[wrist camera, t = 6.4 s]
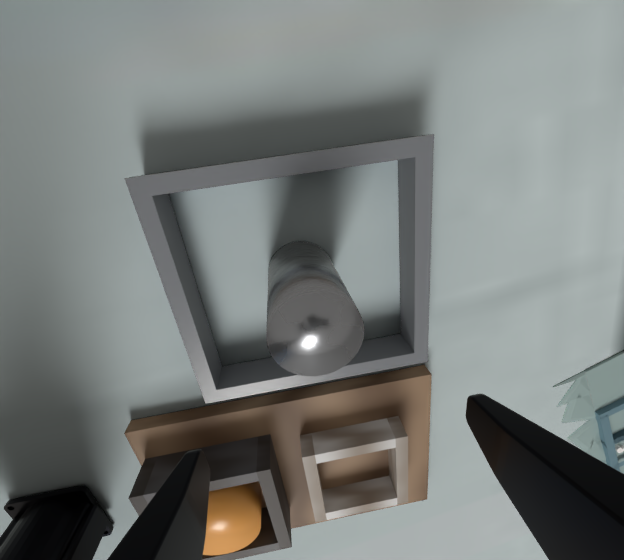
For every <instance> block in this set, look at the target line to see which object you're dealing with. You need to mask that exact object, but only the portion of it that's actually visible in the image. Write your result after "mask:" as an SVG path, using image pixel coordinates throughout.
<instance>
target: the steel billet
mask: <svg viewBox="0 0 624 560" xmlns="http://www.w3.org/2000/svg"><path fill="white" fill-rule="evenodd" d="M363 339H364V323H363V320H362V317H361V315H360V313H359V311H358V309H357V307H356V305H355V304H354V302H353V300H352V298H351V296H350V294H349V293H348V291H347V289H346V287H345V285H344V283H343V282H342V280H341V278H340V276H339V274H338V272H337V271H336V269H335V267H334V265H333V263H332V261H331V260H330V258H329V256H328V255H327V253H326V252H325V251H324V250H323V249H322V248H321V247H319V246H318V245H316V244H314V243H311V242H306V241H296V242H292V243H289V244H287V245H285V246H283V247H282V248H280V249H279V250H278V251H277V252H276V253H275V254H274V256H273V257H272V259H271V261H270V264H269V270H268V303H267V346H268V349H269V352H270V354H271V356H272V357H273V359H274V360H275V361H276V362H277V363H278V364H279V365H280V366H281V367H282V368H284V369H285V370H287V371H289V372H291V373H294V374H297V375H302V376H322V375H326V374H329V373H332V372H335V371H337V370H339V369H340V368H342V367H344V366H345V365H346V364H348V363H349V362H350V361H351V360H352V359H353V358H354V357H355V355H356V354H357V353H358V351H359V349H360V347H361V345H362V342H363Z"/></svg>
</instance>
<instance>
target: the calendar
mask: <svg viewBox="0 0 624 560" xmlns="http://www.w3.org/2000/svg"><path fill="white" fill-rule="evenodd" d="M574 380H576V381H575V382H574V383H573V385H572V386H571V387H570V389H569V390H568V391H567V393H566V394H565V395H564V397H563V398H562V400H561V401H560V402H559V404H558V405H557V407H558V406H561V405H564V404H566V403H568V404H567V407H566V409H565V412H564V415H563V419H562V423H567V422H576V421H583V420H588V421H587V422H586V423H584V424H583V425H582V426H581V427H579V428H578V429H577V430H576V431H575V432H573V433H572V434H571V435H570V436H569V437H568V440H570V441H571V442H572V443H573V444H575V445H576V446H578V447H579V448H581V450H582V451H584V452H586V453H588V454H590V455H591V456H593V457H595V458H597V459H598V460H600V461H602V462H604V463H605V464H607V465H609V466H611V467H612V468H614V469H616V470H618V471H619V472H621V473H623V474H624V351H622V352H620V353H618V354H616V355H614V356H612V357H610V358H608V359H606V360H604V361H602V362H600V363H598V364H596V365H594V366H592V367H590V368H588V369H586V370H584V371H583V372H581V373H579V374H577V375H575V376H573V377H571V378H569V379H567V380H565V381H563V382H561V383H559V384H557V385H555V386H553V387H556V386H559V385H562V384H565V383H568V382H571V381H574Z"/></svg>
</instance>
